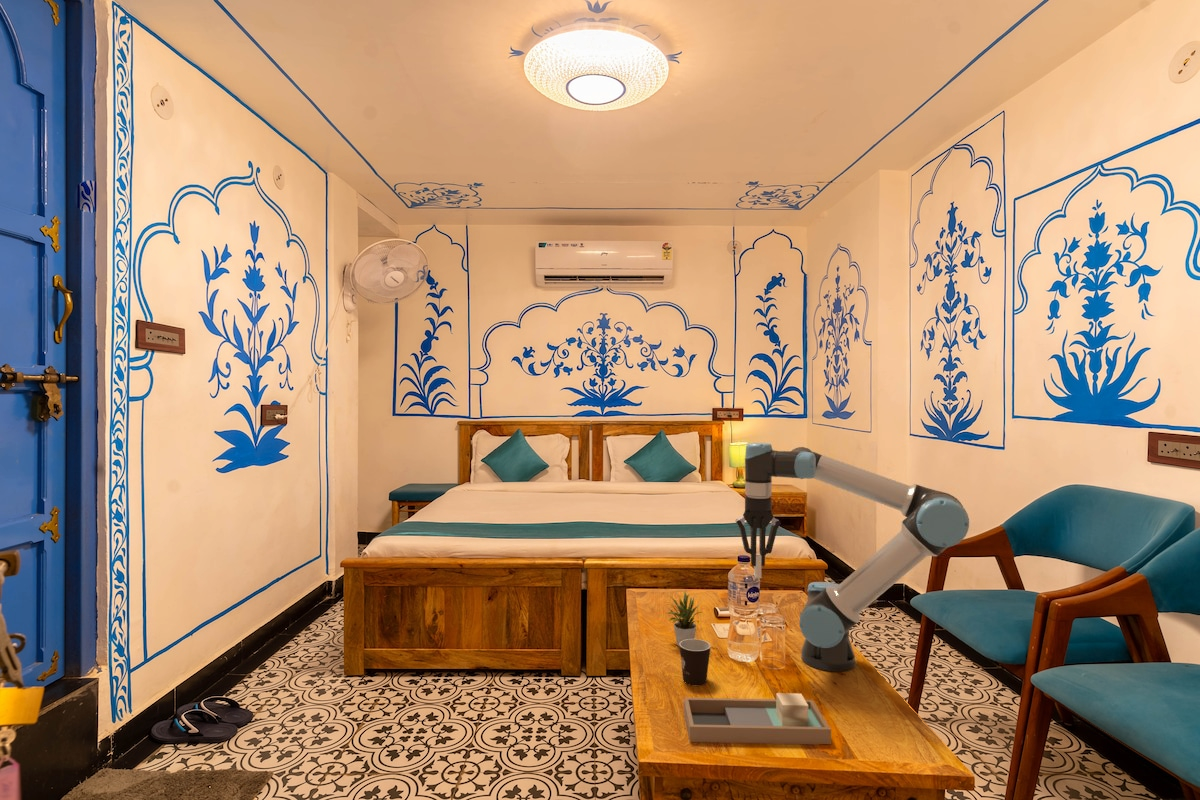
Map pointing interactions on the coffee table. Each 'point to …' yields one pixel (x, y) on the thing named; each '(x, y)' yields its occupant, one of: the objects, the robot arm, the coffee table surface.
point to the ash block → (792, 709)
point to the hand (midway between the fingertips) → (757, 576)
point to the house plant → (684, 619)
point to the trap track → (749, 722)
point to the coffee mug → (694, 660)
